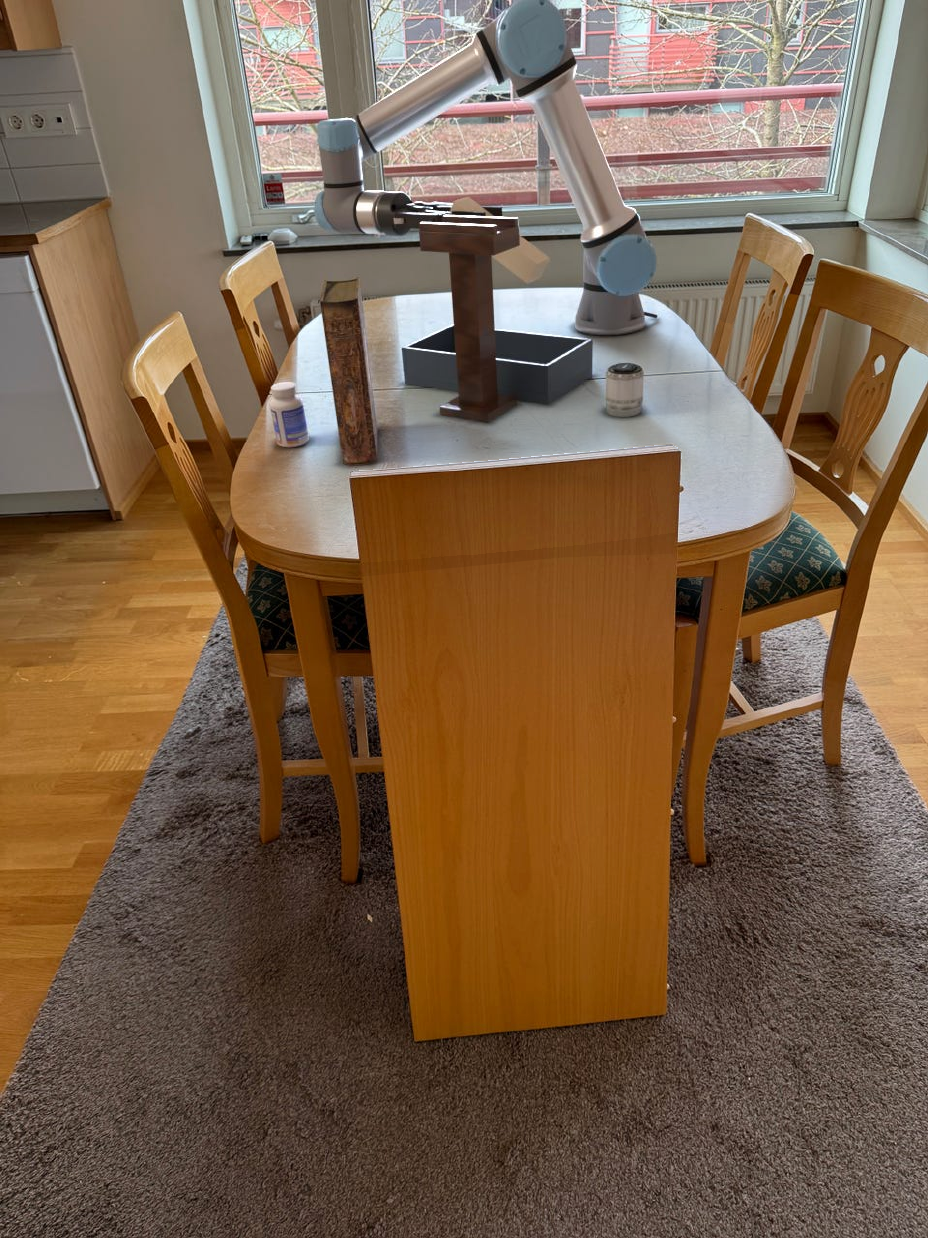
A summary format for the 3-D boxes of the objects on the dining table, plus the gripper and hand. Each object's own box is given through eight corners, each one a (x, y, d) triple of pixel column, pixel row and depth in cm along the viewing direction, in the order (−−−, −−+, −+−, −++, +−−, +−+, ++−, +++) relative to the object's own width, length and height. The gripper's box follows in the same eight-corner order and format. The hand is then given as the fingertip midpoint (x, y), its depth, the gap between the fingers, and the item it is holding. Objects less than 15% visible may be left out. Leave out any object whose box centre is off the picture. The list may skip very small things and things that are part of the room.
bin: (592, 376, 174) (592, 339, 170) (548, 405, 161) (547, 366, 158) (454, 358, 189) (452, 324, 185) (404, 383, 177) (401, 347, 173)
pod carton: (540, 277, 163) (550, 258, 160) (527, 283, 159) (537, 263, 157) (460, 216, 166) (468, 196, 163) (445, 221, 162) (453, 200, 159)
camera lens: (646, 406, 158) (648, 361, 153) (636, 419, 153) (638, 373, 149) (611, 403, 160) (612, 359, 156) (600, 415, 155) (601, 370, 151)
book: (377, 463, 144) (357, 300, 130) (342, 466, 144) (319, 303, 130) (377, 426, 158) (359, 275, 144) (345, 429, 157) (324, 278, 144)
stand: (527, 405, 162) (522, 216, 145) (498, 424, 155) (489, 227, 138) (461, 395, 169) (449, 213, 152) (430, 413, 162) (414, 224, 145)
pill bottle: (314, 437, 155) (305, 381, 150) (299, 449, 151) (290, 391, 146) (286, 435, 157) (276, 379, 152) (271, 447, 153) (260, 390, 148)
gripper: (416, 226, 179) (519, 231, 168) (359, 243, 167) (466, 250, 155) (412, 184, 175) (518, 186, 164) (354, 199, 163) (464, 202, 151)
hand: (492, 217), depth 160 cm, fingers closed on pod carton, 5 cm apart
